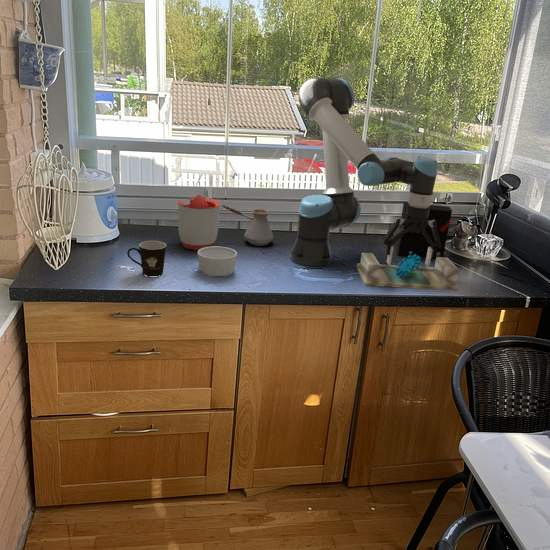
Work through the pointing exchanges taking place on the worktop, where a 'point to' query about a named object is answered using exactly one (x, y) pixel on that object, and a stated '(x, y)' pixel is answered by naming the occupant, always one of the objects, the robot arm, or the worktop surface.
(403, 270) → the gear
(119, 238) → the worktop surface
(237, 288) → the worktop surface
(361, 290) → the worktop surface
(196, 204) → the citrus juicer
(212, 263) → the ramekin
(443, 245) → the electrical component
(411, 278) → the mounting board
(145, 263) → the coffee mug
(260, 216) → the coffee pot
